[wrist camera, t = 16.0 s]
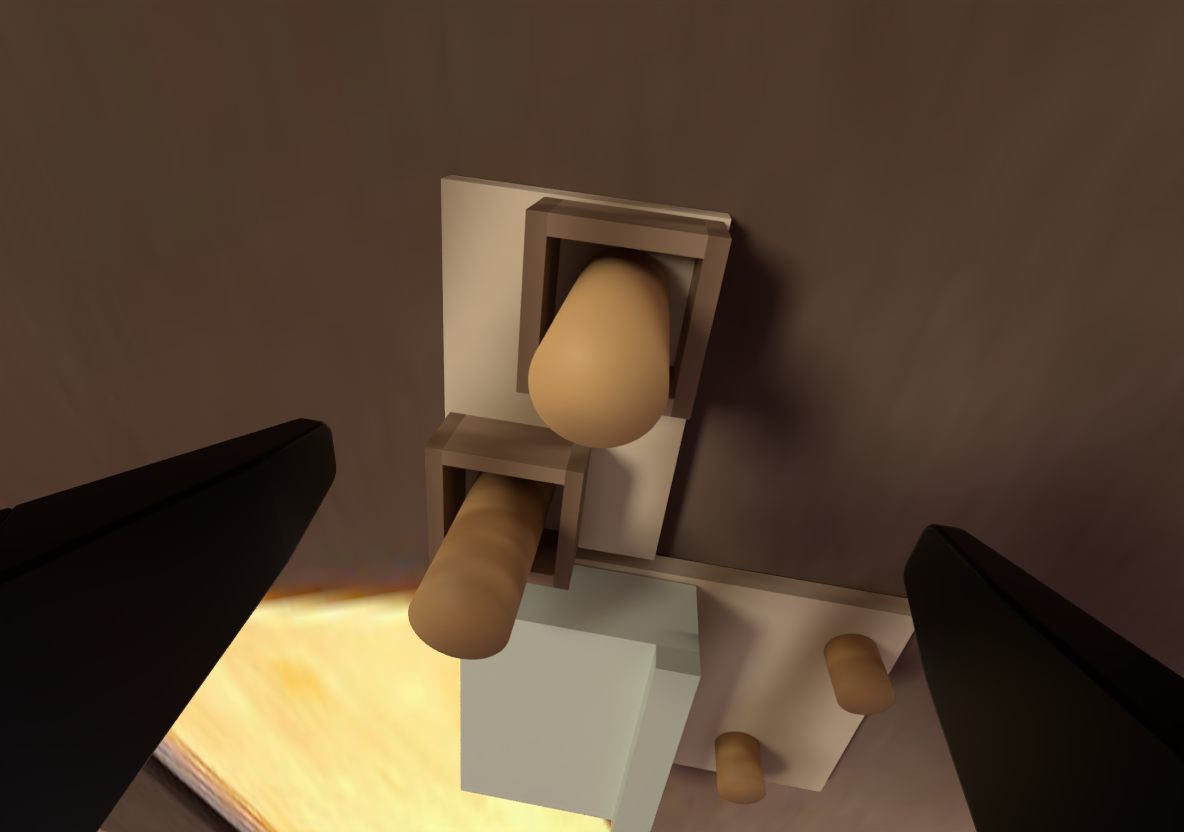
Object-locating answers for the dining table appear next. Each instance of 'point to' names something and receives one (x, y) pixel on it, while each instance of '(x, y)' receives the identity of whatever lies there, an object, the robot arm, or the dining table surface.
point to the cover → (585, 698)
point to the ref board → (777, 670)
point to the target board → (509, 419)
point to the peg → (606, 353)
